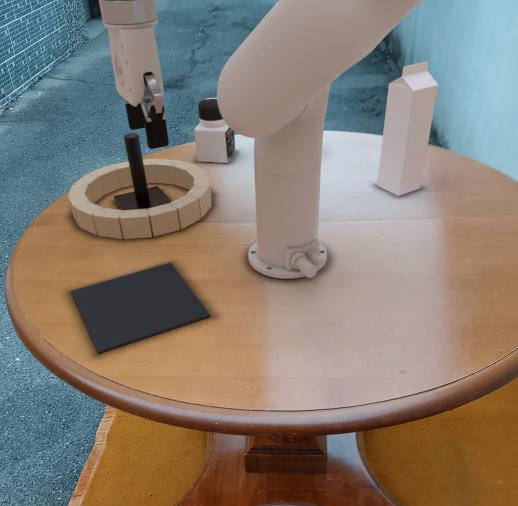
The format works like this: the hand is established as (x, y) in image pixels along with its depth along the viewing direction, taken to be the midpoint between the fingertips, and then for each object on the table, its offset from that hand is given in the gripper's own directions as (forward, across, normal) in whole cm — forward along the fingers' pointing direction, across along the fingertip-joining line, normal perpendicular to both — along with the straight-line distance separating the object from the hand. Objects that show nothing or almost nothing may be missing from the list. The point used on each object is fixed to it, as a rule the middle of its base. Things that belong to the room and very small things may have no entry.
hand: (148, 137), depth 85 cm
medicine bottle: (+16, -26, +22) cm, 37 cm away
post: (+16, -10, 0) cm, 19 cm away
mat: (+16, +21, -11) cm, 28 cm away
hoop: (+16, -10, 0) cm, 19 cm away
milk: (+16, +8, +46) cm, 49 cm away
